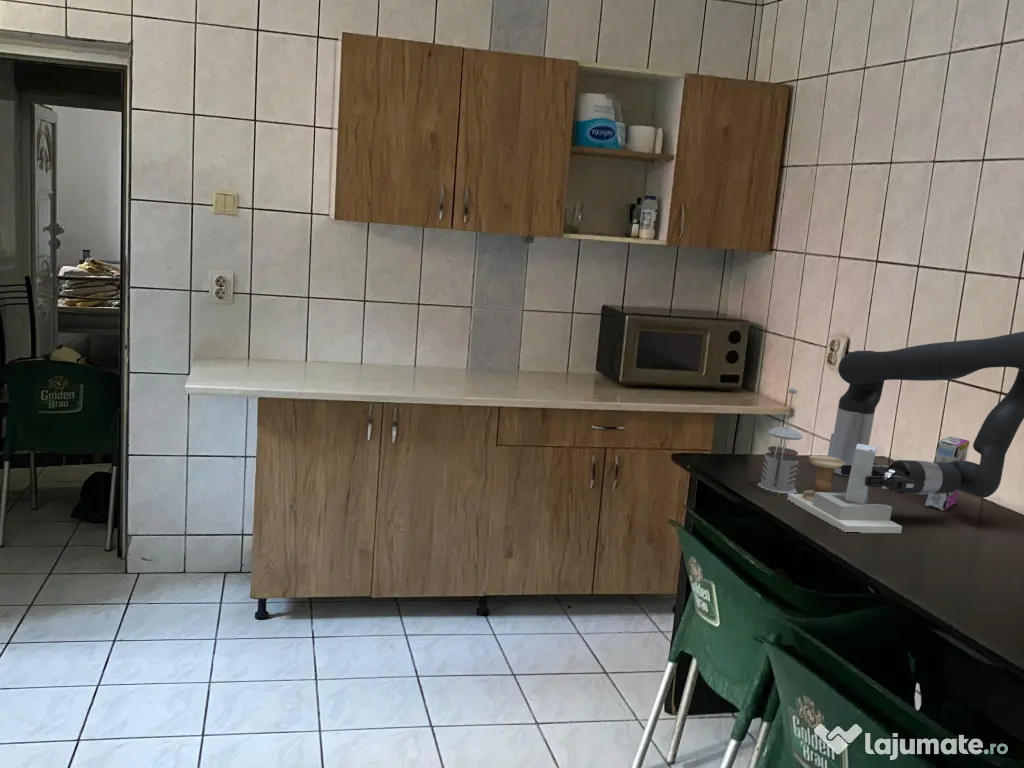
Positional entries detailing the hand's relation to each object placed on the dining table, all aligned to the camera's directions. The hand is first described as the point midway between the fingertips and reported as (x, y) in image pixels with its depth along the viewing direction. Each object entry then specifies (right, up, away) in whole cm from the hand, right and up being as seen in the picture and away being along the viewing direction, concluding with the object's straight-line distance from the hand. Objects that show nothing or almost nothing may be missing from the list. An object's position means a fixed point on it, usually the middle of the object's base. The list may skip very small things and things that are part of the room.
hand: (854, 475), depth 203 cm
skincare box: (+1, -6, +1) cm, 6 cm away
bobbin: (-4, -7, +10) cm, 12 cm away
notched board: (-1, -9, +4) cm, 10 cm away
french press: (-11, -6, +20) cm, 24 cm away
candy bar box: (+30, -10, +22) cm, 38 cm away
